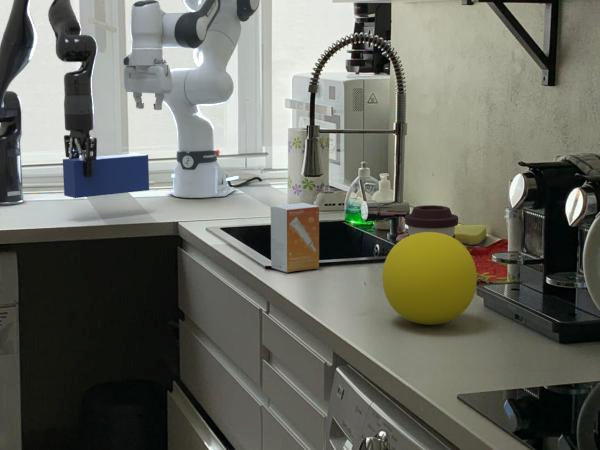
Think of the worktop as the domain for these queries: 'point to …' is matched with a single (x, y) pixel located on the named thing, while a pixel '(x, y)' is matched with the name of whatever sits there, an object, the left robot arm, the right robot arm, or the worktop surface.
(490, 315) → the worktop surface
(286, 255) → the small box
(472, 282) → the toy
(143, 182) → the box
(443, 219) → the coffee cup
